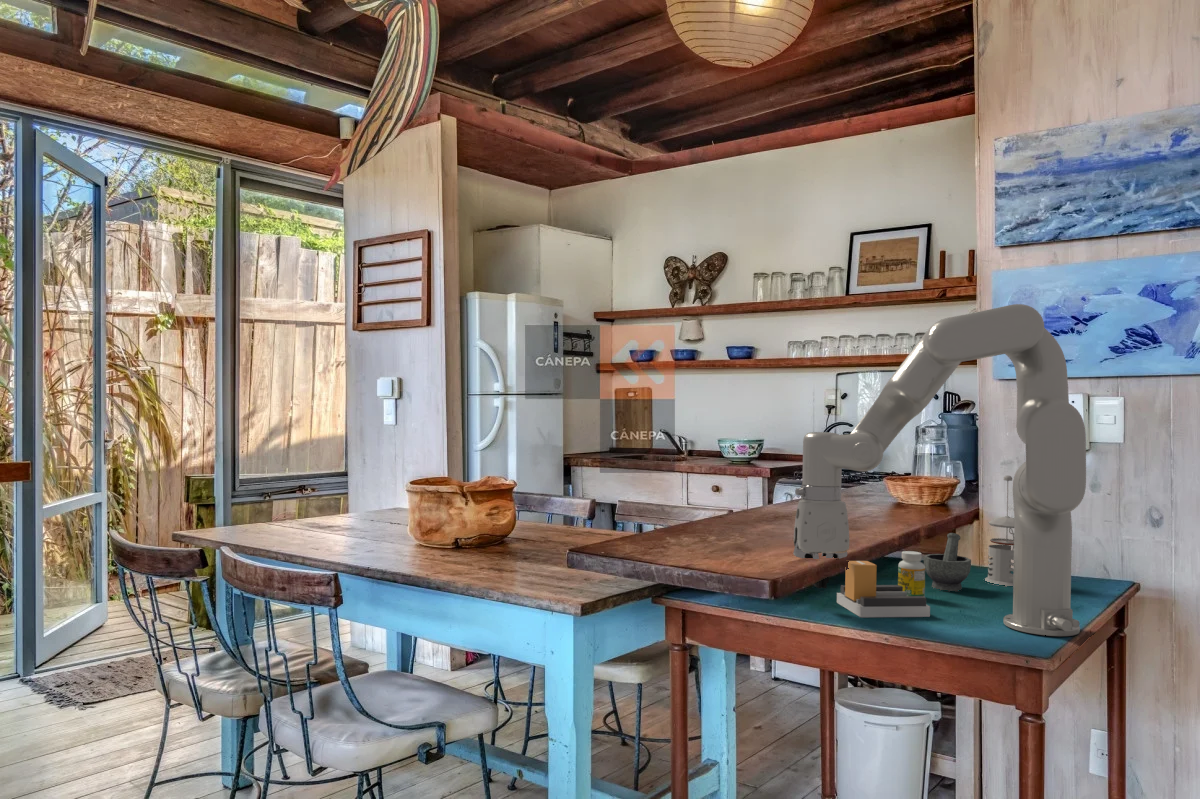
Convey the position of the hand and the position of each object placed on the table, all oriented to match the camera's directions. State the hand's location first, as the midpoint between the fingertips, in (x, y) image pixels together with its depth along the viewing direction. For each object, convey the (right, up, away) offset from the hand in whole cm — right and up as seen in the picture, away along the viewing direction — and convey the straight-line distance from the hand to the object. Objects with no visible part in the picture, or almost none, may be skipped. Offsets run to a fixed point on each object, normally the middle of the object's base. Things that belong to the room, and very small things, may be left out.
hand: (819, 586), depth 170 cm
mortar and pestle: (+35, -6, +23) cm, 42 cm away
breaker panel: (+13, -5, +1) cm, 14 cm away
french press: (+52, -6, +31) cm, 61 cm away
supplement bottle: (+23, -5, +12) cm, 26 cm away
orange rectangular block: (+8, -3, +1) cm, 9 cm away
